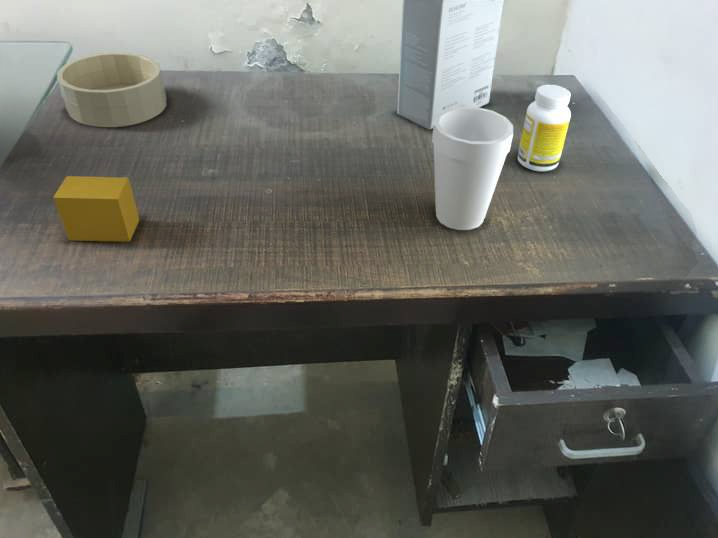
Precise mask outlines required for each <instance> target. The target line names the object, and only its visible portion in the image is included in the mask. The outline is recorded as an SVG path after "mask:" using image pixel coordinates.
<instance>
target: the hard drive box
mask: <svg viewBox="0 0 718 538" xmlns="http://www.w3.org/2000/svg"><path fill="white" fill-rule="evenodd" d="M504 2H505V0H402V4H401V5H402V7H401V8H402V9H401V11H402V12H401V27H400V29H401V30H400V46H399V47H400V48H399V49H400V51H399V69H398V70H399V71H398V72H399V73H398V88H397V89H398V91H397V110H396V111H397V112H396V114H397V115H398V116H401V117H402V118H404V119H407V120H409V121H411V122H412V123H415V124H417V125H419V126H421V127H423V128H425V129H427V130H432V129H433V127H434V121H435V116H436V115H437V114H439V113H440V112H442V111H443V110H445V109H450V108H454V107H478V108H482V107H483V106H485V105H488V104H489V103H490V99H491V90H492V83H493V76H494V70H495V62H496V56H497V49H498V43H499V42H498V41H499V35H500V28H501V21H502V14H503V7H504Z"/></svg>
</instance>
